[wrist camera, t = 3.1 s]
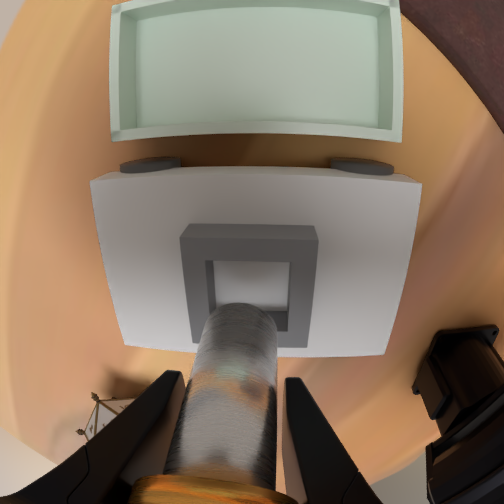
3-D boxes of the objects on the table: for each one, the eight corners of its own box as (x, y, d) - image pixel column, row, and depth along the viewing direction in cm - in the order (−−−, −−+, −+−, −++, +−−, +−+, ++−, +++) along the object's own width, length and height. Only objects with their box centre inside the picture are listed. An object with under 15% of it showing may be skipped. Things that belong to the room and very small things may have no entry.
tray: (382, 13, 11) (399, 0, 9) (383, 138, 14) (401, 143, 12) (132, 17, 12) (112, 5, 10) (133, 137, 15) (111, 142, 13)
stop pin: (296, 290, 9) (313, 523, 3) (288, 369, 11) (290, 553, 5) (184, 286, 10) (96, 494, 3) (195, 365, 11) (150, 538, 5)
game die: (136, 364, 27) (52, 376, 18) (212, 400, 24) (136, 438, 15) (125, 437, 26) (52, 464, 17) (193, 476, 23) (126, 525, 14)
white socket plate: (390, 161, 15) (440, 185, 10) (366, 316, 19) (389, 378, 14) (126, 159, 16) (69, 182, 11) (148, 309, 20) (116, 366, 15)
